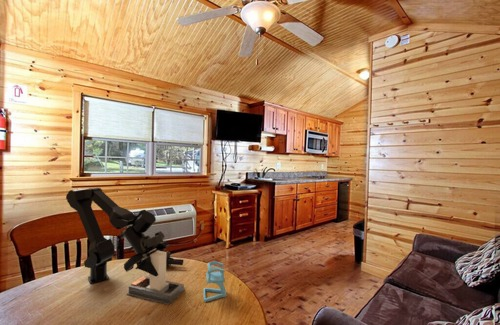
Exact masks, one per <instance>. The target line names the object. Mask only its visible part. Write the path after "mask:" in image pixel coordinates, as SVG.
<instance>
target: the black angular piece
mask: <svg viewBox="0 0 500 325" xmlns="http://www.w3.org/2000/svg"><path fill="white" fill-rule="evenodd" d="M165 252H166V268H168V267H169V266H172V265H175V266H184V259H181V258H179V259H177V258H173V257H171V255H172V253H171V251H170V250H167V251H165Z"/></svg>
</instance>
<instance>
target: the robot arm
mask: <svg viewBox="0 0 500 325" xmlns="http://www.w3.org/2000/svg"><path fill="white" fill-rule="evenodd" d="M65 196H66V197H65V199H66V201H67V204H69V206H70V208H71V209H73V210H75V211H76V212H77V213H78V216H79V219H80V221H81V224H82V226H83V228H84V231H85V234H86V237H87V239H88V241H89V247H88V251H87V252H88V254H89V256H88V257H87V258H86V259H85V260H84V261H83V264H84V268H88V269H89V271H90V272H89V276H87V279H88V281H89V284H90V285H92V284H96V283H100V282H103V281H107V280H109V279H110V276H109V275H108V274H107V273H108V272H107V270H108V268H107V267H108V265H107V264H108V263H109V262H111V261H112V260H113V257H114V256H115V253H116V250H115V247H116V246H115V245H114V244H113V240H112V239H111V238H108V239H107V238H106V237H104V234H103V232H102V230H101V227H100V224H99V222H98V220H97V218H96V215H95V212H94V210H93V208H92V204H93V202H94V204H96V205H97V207H99V209H101V210H102V211H103V212H104V213H105V214H106V215H107V216H108V218H109V220H108V221H109V222H110V224H111V225H112V227H113V228H115V230H121V231H120V235H119V239H124V238H125V239H126V241H127V242H128V243H129V244H130V246H131V247H130V248H129V250H130V251H134V252H135V253H136V254H133V255H132V256H130V257H129V258H128V259H127V260H126V261H125V263H123V269H124V270H125V272H126V273H128V272H129V271H131V270H133V269H134V268H135V270H140V271H143V272H146V273H148V274H149V275H150V274H151V275H153V276H158V273H157V271H156V269H155V268H154V266H153V265H152V263H151V259H150V255H151V254H152V253H154V252H156V251H162V252H165V250H166V249H167V248H168V247H169V245H170V243H169V242H168V240H164V239H165V235H164V232H162V231H158V232H155V233H154V236H151V237H150V235H145V234H144V233H146V232H147V231H148V230H149V229H150V228H151V227H152V226H153V225H154V224H155V222H156V221H157V219H156V216H155V214H153V213H151V212H149V211H147V210H146V209H141V210H140V211H139V213H138V214H134V213H133V212H132V211H131V210H129V209H128V208H125V207H122V206H120V205H118V204H117V203H116V201H114V200H112V198H110V197H109V196H108V195H107V194H106V193H105V192H104V191H103V189H102V188H101V187H98V186H97V187H91V188H79V189H77V188H76V189H70V190H69V191H68V192H67V194H66V195H65ZM122 229H124V230H122ZM135 265H136V267H134V266H135Z"/></svg>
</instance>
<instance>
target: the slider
mask: <svg viewBox="0 0 500 325" xmlns="http://www.w3.org/2000/svg"><path fill="white" fill-rule="evenodd" d="M166 252H167V251H163V252H162V251H156V252H154V253H152V254H151V255H150V259H151V263H152V265H153V266H154V268H155V269H156V271H157V273H158V276H153V275H151V274H149V277H150V285H149V286H147V287H146V288H147V289H151V290H156V291H160V292H165V291H167V290H168V289H169V283H166V281H167V267H166Z"/></svg>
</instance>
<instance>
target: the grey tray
mask: <svg viewBox="0 0 500 325" xmlns="http://www.w3.org/2000/svg"><path fill="white" fill-rule="evenodd" d="M166 283H169V289H168V290H167V291H165V292H160V291H156V290H151V289H147V288H146V287H147V286H149V285H150V276H147V275H144V276H141V277H140V278H138V279H137V280H135V281H133V282H132V283H131V284H130V285H129V286H128V291H127V292H126V295H128V296H132V297H136V298H140V299H143V300H147V301H151V302H155V303H159V304H164V305H166V306H167V305H168V306H169V305H170V304H172V302H174V301H175V300H176V299H177V298H178V297H179V296H180V295H181V294H182V293H183V292H185V290H186V288H185V284H184V283H178V282H175V281H170V280H166Z"/></svg>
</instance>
